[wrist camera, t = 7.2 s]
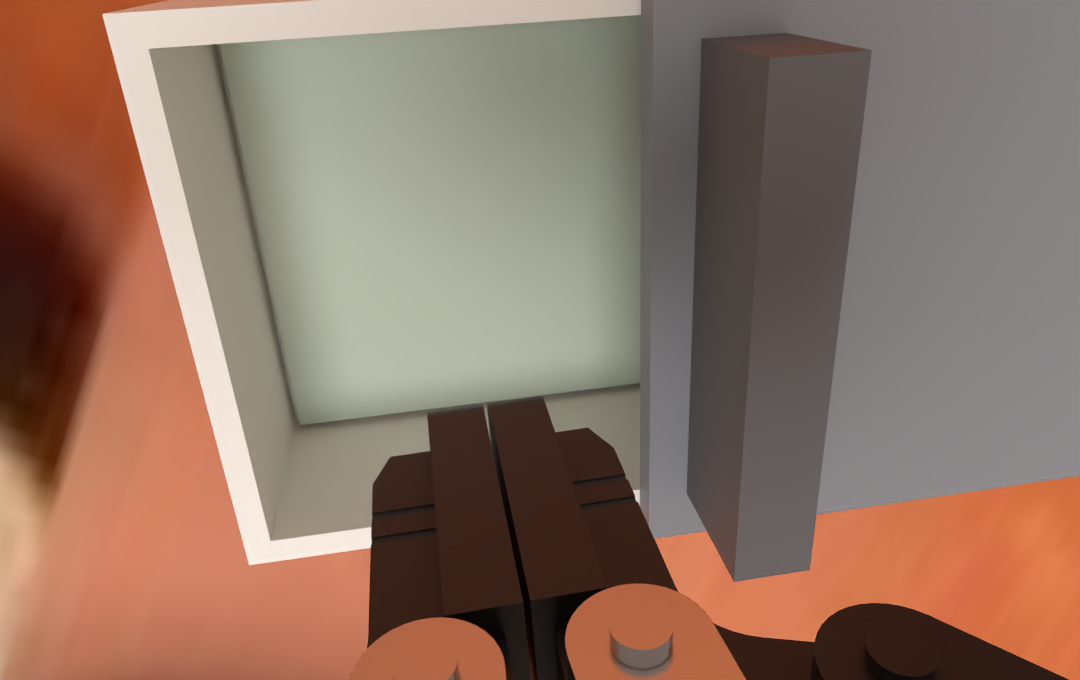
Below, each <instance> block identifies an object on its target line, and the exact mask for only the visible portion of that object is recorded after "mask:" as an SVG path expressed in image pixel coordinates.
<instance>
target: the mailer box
mask: <svg viewBox="0 0 1080 680" xmlns="http://www.w3.org/2000/svg"><path fill="white" fill-rule="evenodd" d="M102 15H103V19H104V23H105V27H106V30H107V34H108V38H109V42H110V45H111V49H112V53H113V57H114V60H115V64H116V68H117V72H118V75H119V79H120V83H121V87H122V90H123V94H124V98H125V102H126V105H127V109H128V113H129V117H130V120H131V124H132V128H133V132H134V135H135V139H136V143H137V147H138V150H139V154H140V158H141V162H142V165H143V169H144V173H145V177H146V180H147V184H148V188H149V192H150V195H151V199H152V203H153V207H154V210H155V214H156V218H157V222H158V225H159V229H160V233H161V236H162V240H163V244H164V248H165V251H166V255H167V259H168V263H169V266H170V270H171V274H172V278H173V281H174V285H175V289H176V293H177V296H178V300H179V304H180V308H181V311H182V315H183V319H184V323H185V326H186V330H187V334H188V338H189V341H190V345H191V349H192V353H193V356H194V360H195V364H196V368H197V371H198V375H199V379H200V383H201V386H202V390H203V394H204V398H205V401H206V405H207V409H208V413H209V416H210V420H211V424H212V428H213V431H214V435H215V439H216V443H217V446H218V450H219V454H220V458H221V461H222V465H223V469H224V473H225V476H226V480H227V484H228V488H229V491H230V495H231V499H232V503H233V506H234V510H235V514H236V517H237V521H238V525H239V529H240V532H241V536H242V540H243V544H244V547H245V551H246V555H247V559H248V562H249V565H254V564H261V563H268V562H275V561H282V560H289V559H296V558H303V557H310V556H317V555H324V554H331V553H338V552H345V551H352V550H359V549H366V548H371V544H372V540H371V526H372V489H373V483H374V481H375V480H376V478H377V477H378V475H379V473H380V472H381V470H382V469H383V467H384V466H385V464H386V463H387V461H388V459H389V458H390V457H392V456H399V455H406V454H413V453H419V452H426V451H430V443H429V431H428V419H427V412H432V411H439V410H446V409H453V408H460V407H467V406H474V405H483V408H484V412H485V417H486V422H487V427H488V432H489V423H488V413H487V403H494V402H501V401H508V400H515V399H523V398H530V397H537V396H543V398H544V401H545V404H546V407H547V409H548V412H549V415H550V418H551V421H552V424H553V427H554V430H555V432H561V431H568V430H574V429H581V428H589V429H591V430H592V431H593V432H594V433H596V434H597V435H598V436H600V437H601V438H602V439H603V440H605V441H606V442H607V443H608V444H610V445H611V446H612V447H614V449H615V452H616V454H617V456H618V458H619V461H620V463H621V465H622V467H623V470H624V472H625V475H626V479H628V481H629V483H630V485H631V488H632V490H633V492H634V494H635V499H636V502H637V501H638V503H639V506H640V272H641V0H167V1H162V2H157V3H153V4H148V5H143V6H138V7H133V8H128V9H124V10H119V11H114V12H109V13H104V14H102ZM489 437H490V432H489ZM490 442H491V441H490Z"/></svg>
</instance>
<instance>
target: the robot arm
mask: <svg viewBox="0 0 1080 680" xmlns="http://www.w3.org/2000/svg"><path fill="white" fill-rule="evenodd" d="M487 413H488V423H489V432H490V437H489V432H488V427H487V422H486V417H485V412H484V408H483V405H474V406H467V407H460V408H453V409H446V410H439V411H432V412H427V419H428V431H429V443H430V451H426V452H419V453H413V454H406V455H399V456H392V457H390V458H389V459H388V461H387V463H386V464H385V466H384V467H383V469H382V470H381V472H380V473H379V475H378V477H377V478H376V480H375V481H374V483H373V489H372V526H371V540H372V544H371V563H370V599H369V636H368V646H367V650H366V651H365V652H364V653H363V654H362V655H361V657H360V658H359V660H358V661H357V663H356V664H355V666H354V669H353V671H352V673H351V675H350V679H349V680H1068V679H1066V678H1064V677H1062V676H1060V675H1057V674H1055V673H1053V672H1051V671H1049V670H1047V669H1044V668H1042V667H1040V666H1038V665H1036V664H1034V663H1031V662H1029V661H1027V660H1025V659H1023V658H1020V657H1018V656H1016V655H1014V654H1012V653H1010V652H1007V651H1005V650H1003V649H1001V648H999V647H996V646H994V645H992V644H990V643H988V642H986V641H983V640H981V639H979V638H977V637H975V636H972V635H970V634H968V633H966V632H964V631H962V630H959V629H957V628H955V627H953V626H951V625H948V624H946V623H944V622H942V621H940V620H938V619H935V618H933V617H931V616H929V615H926V614H924V613H921V612H919V611H916V610H913V609H910V608H906V607H902V606H897V605H891V604H881V603H869V604H859V605H855V606H850V607H847V608H845V609H842V610H840V611H838V612H836V613H835V614H833V615H832V616H830V617H829V618H828V619H827V620H826V621H825V622H824V623H823V624H822V625H821V627H820V629H819V631H818V632H817V636H816V639H815V642H805V641H795V640H784V639H773V638H762V637H755V636H749V635H744V634H741V633H737V632H733V631H730V630H728V629H725V628H723V627H720V626H718V625H716V624H714V623H713V622H712V620H711V619H710V617H709V616H708V615H707V613H706V612H705V611H704V610H703V609H702V608H701V607H700V606H699V605H698V604H697V603H695V602H694V601H693V600H691V599H690V598H688V597H687V596H685V595H683V594H681V593H679V592H678V590H677V588H676V587H675V585H674V582H673V580H672V578H671V576H670V573H669V571H668V569H667V567H666V564H665V562H664V560H663V558H662V555H661V553H660V551H659V549H658V546H657V544H656V542H655V539H654V537H653V535H652V533H651V530H650V528H649V526H648V524H647V521H646V519H645V517H644V515H643V512H642V510H641V508H640V506H639V503H638V501H637V502H636V499H635V494H634V492H633V490H632V488H631V485H630V483H629V481H628V479H626V475H625V472H624V470H623V467H622V465H621V463H620V461H619V458H618V456H617V454H616V452H615V449H614V447H612V446H611V445H610V444H608V443H607V442H606V441H605V440H603V439H602V438H601V437H600V436H598V435H597V434H596V433H594V432H593V431H592V430H591V429H589V428H581V429H574V430H568V431H561V432H555V430H554V427H553V424H552V421H551V418H550V415H549V412H548V409H547V407H546V404H545V401H544V398H543V396H537V397H530V398H523V399H515V400H508V401H501V402H494V403H487ZM490 441H491V442H490Z"/></svg>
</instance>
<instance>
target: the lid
mask: <svg viewBox="0 0 1080 680" xmlns="http://www.w3.org/2000/svg"><path fill="white" fill-rule="evenodd" d="M1075 476H1080V0H641V272H640V508H641V510H642V512H643V515H644V517H645V519H646V521H647V524H648V526H649V528H650V530H651V533H652V535H653V537H654V538H661V537H668V536H675V535H682V534H688V533H695V532H702V531H707V532H708V534H709V536H710V538H711V540H712V542H713V543H714V545H715V547H716V549H717V551H718V553H719V555H720V556H721V558H722V560H723V562H724V564H725V566H726V568H727V570H728V571H729V573H730V575H731V577H732V579H733V581H734V582H735V581H742V580H748V579H755V578H761V577H767V576H774V575H780V574H787V573H793V572H800V571H806V570H810V563H811V554H812V546H813V538H814V529H815V521H816V515H817V514H824V513H831V512H837V511H844V510H851V509H858V508H865V507H871V506H878V505H885V504H892V503H899V502H905V501H912V500H919V499H926V498H932V497H939V496H946V495H953V494H960V493H966V492H973V491H980V490H987V489H993V488H1000V487H1007V486H1014V485H1021V484H1027V483H1034V482H1041V481H1048V480H1055V479H1061V478H1068V477H1075Z"/></svg>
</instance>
